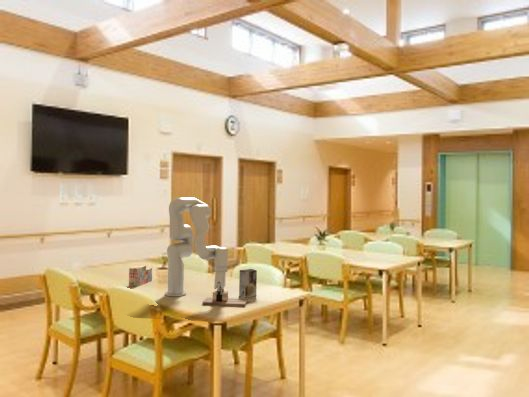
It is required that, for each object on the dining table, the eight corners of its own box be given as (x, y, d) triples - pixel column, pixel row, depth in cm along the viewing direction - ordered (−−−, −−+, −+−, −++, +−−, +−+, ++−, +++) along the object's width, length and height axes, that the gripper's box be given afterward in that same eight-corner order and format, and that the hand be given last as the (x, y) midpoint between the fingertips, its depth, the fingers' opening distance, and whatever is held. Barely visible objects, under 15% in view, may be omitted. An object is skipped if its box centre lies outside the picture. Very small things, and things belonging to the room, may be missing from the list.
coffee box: (249, 294, 293) (250, 268, 293) (256, 296, 289) (257, 270, 288) (238, 296, 287) (239, 269, 287) (245, 298, 283) (245, 271, 282)
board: (207, 299, 275) (207, 297, 275) (247, 301, 273) (247, 299, 273) (202, 304, 263) (202, 302, 263) (244, 306, 261) (244, 304, 261)
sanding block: (214, 299, 271) (214, 290, 271) (227, 299, 271) (228, 291, 270) (212, 301, 266) (212, 292, 266) (226, 301, 266) (226, 293, 265)
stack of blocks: (143, 280, 329) (144, 263, 328) (152, 281, 327) (152, 263, 327) (128, 286, 308) (129, 267, 307) (137, 287, 306) (137, 268, 306)
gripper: (217, 266, 277) (216, 296, 277) (211, 271, 260) (210, 303, 260) (229, 266, 276) (229, 297, 277) (224, 271, 259) (223, 304, 260)
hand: (220, 300), depth 268 cm, fingers closed on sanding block, 5 cm apart
